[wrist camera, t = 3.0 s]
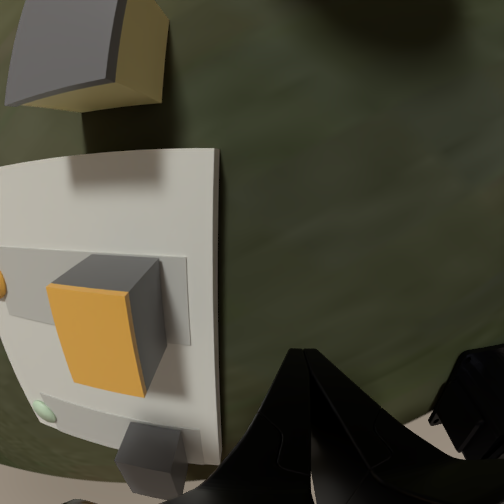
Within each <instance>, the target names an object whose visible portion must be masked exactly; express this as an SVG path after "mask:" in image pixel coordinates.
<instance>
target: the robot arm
mask: <svg viewBox="0 0 504 504" xmlns="http://www.w3.org/2000/svg"><path fill="white" fill-rule="evenodd" d="M428 421H429V423H430V425H431V426H434V425H438V424H443V426H444V428H445V430H446V432H447V433H448V435H449V437H450V439H451V441H452V443H453V445H454V447H455V449H456V450H457V451H458V452H459V453H460V452H462V453H463V455H464V457H465V459H466V460H463V459H457V458H453V457H451V456H449V455H447V454H445V453H444V452H442V451H441V450H439V449H437V448H436V447H434V446H433V445H431V444H430V443H428V442H427V441H425V440H424V439H422V438H421V437H419V436H418V435H416V434H415V433H413V432H412V431H411V430H409V429H408V428H406V427H405V426H404V425H402V424H401V423H400V422H399V421H397V420H396V419H395V418H394V417H392V416H391V415H390V414H389V413H388V412H387V411H385V410H384V409H383V408H381V406H380V405H378V404H377V403H376V402H375V401H374V400H373V399H372V398H370V397H369V396H368V395H367V394H366V393H365V392H364V391H363V390H361V389H360V388H359V387H358V386H357V385H356V384H355V383H354V382H352V381H351V380H350V379H349V378H348V377H347V376H346V375H345V374H344V373H342V372H341V371H340V370H339V369H338V368H337V367H336V366H335V365H334V364H333V363H331V362H330V361H329V360H328V359H327V358H326V357H325V356H324V355H323V354H322V353H320V352H319V351H318V350H317V349H303V350H302V349H297V348H290V349H289V350H288V352H287V354H286V356H285V358H284V360H283V363H282V365H281V367H280V369H279V371H278V373H277V375H276V377H275V379H274V381H273V383H272V385H271V387H270V389H269V391H268V393H267V395H266V397H265V399H264V400H263V402H262V404H261V406H260V408H259V410H258V412H257V414H256V415H255V417H254V419H253V421H252V423H251V424H250V426H249V428H248V429H247V431H246V433H245V434H244V436H243V437H242V438H241V440H240V441H239V442H238V444H237V445H236V446H235V447H234V449H233V450H232V451H231V452H230V453H229V455H228V456H227V457H226V458H225V459H224V460H223V462H222V463H221V464H220V465H219V466H218V467H217V468H216V470H215V471H214V472H213V473H212V474H211V475H210V476H209V477H208V478H207V479H206V480H205V481H204V482H203V483H202V484H200V485H199V486H198V487H196V488H195V489H193V490H191V491H188V492H186V493H184V494H182V495H179V496H177V497H175V498H172V499H170V500H167V501H165V502H162V503H160V504H314V501H313V498H312V494H311V478H310V477H311V474H312V479H313V485H314V491H315V496H316V502H317V504H504V344H500V345H494V346H489V347H484V348H478V349H472V350H467V351H465V352H463V353H462V354H461V356H460V357H459V360H458V362H457V364H456V366H455V369H454V371H453V373H452V375H451V377H450V379H449V381H448V383H447V385H446V387H445V389H444V391H443V393H442V395H441V397H440V399H439V401H438V403H437V405H436V407H435V409H434V410H433V412H432V414H431V416H430V417H429V419H428ZM63 504H96V503H93V502H90V501H86V500H81V499H73V500H71V501H68V502H66V503H63Z"/></svg>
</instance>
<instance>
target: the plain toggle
mask: <svg viewBox="0 0 504 504" xmlns="http://www.w3.org/2000/svg"><path fill="white" fill-rule="evenodd" d="M114 461H115V463H116V465H117V467H118V468H119V470H120V472H121V474H122V475H123V477H124V479H125V481H126V482H127V484H128V486H129V487H130V489H131V491H132V492H133V493H137V494H141V495H145V496H150V497H154V498H159V499H164V500H170V499H172V498H175V497H177V496H179V495H182V494H183V489H184V484H185V479H186V475H187V470H188V462H187V457H186V453H185V448H184V443H183V439H182V434H181V431H180V430H173V429H167V428H161V427H155V426H149V425H144V424H139V423H134V422H130V424H129V426H128V429H127V431H126V433H125V436H124V438H123V441H122V443H121V445H120V448H119V450H118V453H117V455H116V458H115V460H114Z"/></svg>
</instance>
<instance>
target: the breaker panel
mask: <svg viewBox="0 0 504 504" xmlns="http://www.w3.org/2000/svg"><path fill="white" fill-rule="evenodd" d="M219 157H220V149H216V148H180V149H150V150H131V151H116V152H104V153H93V154H83V155H74V156H65V157H58V158H50V159H43V160H36V161H30V162H24V163H18V164H13V165H7V166H2V167H0V337H1V340H2V342H3V345H4V347H5V350H6V353H7V355H8V357H9V360H10V362H11V365H12V367H13V369H14V371H15V374H16V376H17V378H18V380H19V382H20V384H21V387H22V389H23V391H24V393H25V395H26V397H27V399H28V401H29V402H30V404H31V406H32V408H33V410H34V412H35V414H36V415H37V417H38V419H39V421H40V422H41V423H43V424H46V425H48V426H51V427H54V428H56V429H59V431H61V432H64V433H67V434H70V435H72V436H75V437H78V438H81V439H84V440H88V441H91V442H94V443H97V444H101V445H104V446H108V447H111V448H115V449H119V448H120V445H121V443H122V441H123V438H124V436H125V433H126V431H127V429H128V426H129V424H130V422H134V423H139V424H144V425H149V426H155V427H161V428H167V429H173V430H180V431H181V434H182V439H183V443H184V448H185V453H186V457H187V462H188V463H191V464H199V465H204V464H210V465H220V462H221V453H222V437H221V414H220V387H219V350H218V195H219ZM91 254H99V255H116V256H134V257H152V258H159V265H160V279H161V292H162V303H163V313H164V323H165V332H166V340H167V348H166V350H165V352H164V354H163V357H162V359H161V361H160V363H159V366H158V368H157V370H156V373H155V375H154V377H153V379H152V382H151V384H150V386H149V389H148V391H147V393H146V396H145V398H142V397H136V396H131V395H126V394H121V393H116V392H111V391H107V390H103V389H98V388H94V387H90V386H86V385H82V384H79V383H75V382H74V381H73V379H72V376H71V373H70V370H69V368H68V365H67V362H66V359H65V356H64V353H63V350H62V347H61V344H60V340H59V337H58V334H57V330H56V327H55V323H54V319H53V316H52V312H51V308H50V304H49V300H48V295H47V291H46V286H47V285H49V284H50V283H51V282H53V281H54V280H56V279H57V278H58V277H60V276H61V275H62V274H64V273H65V272H67V271H68V270H69V269H71V268H72V267H74V266H75V265H77V264H78V263H79V262H81V261H82V260H84V259H85V258H87V257H88V256H90V255H91Z"/></svg>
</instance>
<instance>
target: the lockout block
mask: <svg viewBox="0 0 504 504" xmlns="http://www.w3.org/2000/svg"><path fill="white" fill-rule="evenodd" d="M168 28H169V19H168V18H167V17H166V15H165V14H164V13H163V11H162V10H161V9H160V7H159V6H158V5H157V3H156V2H155V1H154V0H26V1H25V4H24V8H23V11H22V14H21V18H20V21H19V25H18V29H17V33H16V37H15V42H14V46H13V51H12V56H11V61H10V67H9V73H8V80H7V87H6V96H5V106H15V107H16V106H19V105H24V106H33V107H42V108H50V109H58V110H65V111H72V112H78V113H84V112H90V111H96V110H103V109H110V108H117V107H126V106H135V105H145V104H156V103H162V90H163V77H164V65H165V54H166V45H167V36H168Z"/></svg>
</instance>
